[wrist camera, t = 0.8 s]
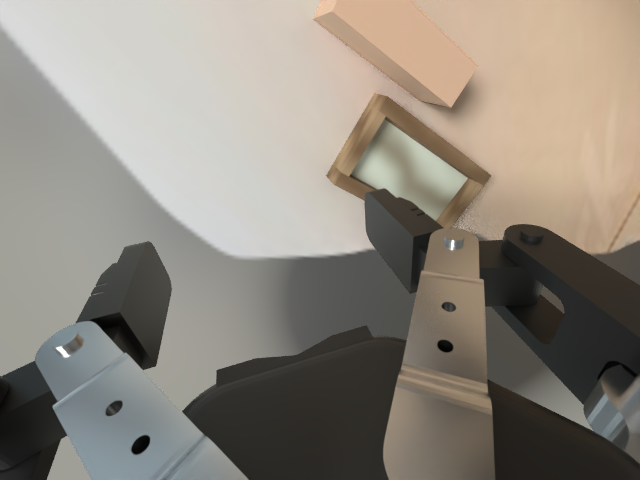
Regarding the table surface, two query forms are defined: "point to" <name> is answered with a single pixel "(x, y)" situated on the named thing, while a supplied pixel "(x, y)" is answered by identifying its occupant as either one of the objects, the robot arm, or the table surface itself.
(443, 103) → the strip
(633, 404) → the robot arm
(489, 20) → the table surface
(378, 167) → the picture frame
